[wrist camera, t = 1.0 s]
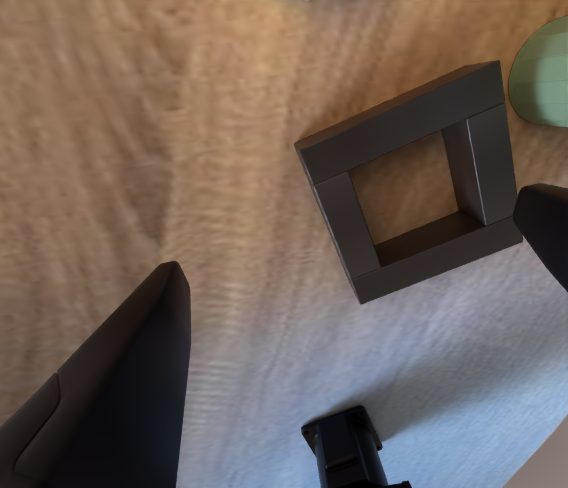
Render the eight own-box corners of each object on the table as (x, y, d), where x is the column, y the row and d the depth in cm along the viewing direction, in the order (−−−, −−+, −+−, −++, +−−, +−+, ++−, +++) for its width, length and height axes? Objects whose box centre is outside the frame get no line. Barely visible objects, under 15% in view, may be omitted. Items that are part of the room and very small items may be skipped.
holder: (492, 225, 24) (523, 242, 22) (349, 282, 26) (360, 305, 23) (465, 65, 20) (500, 59, 17) (293, 143, 21) (298, 150, 18)
